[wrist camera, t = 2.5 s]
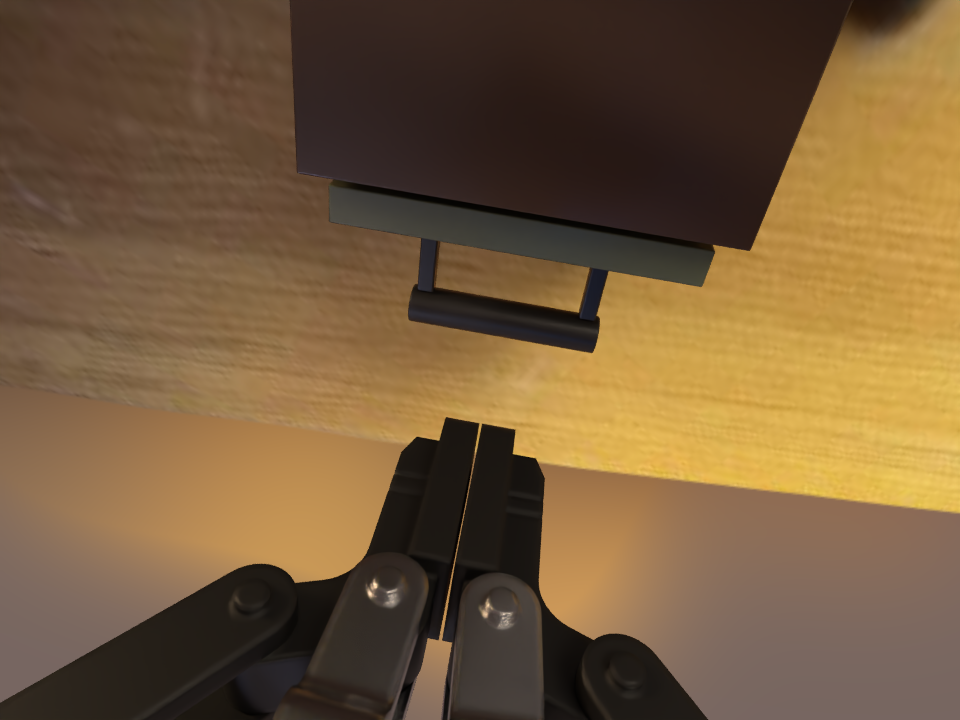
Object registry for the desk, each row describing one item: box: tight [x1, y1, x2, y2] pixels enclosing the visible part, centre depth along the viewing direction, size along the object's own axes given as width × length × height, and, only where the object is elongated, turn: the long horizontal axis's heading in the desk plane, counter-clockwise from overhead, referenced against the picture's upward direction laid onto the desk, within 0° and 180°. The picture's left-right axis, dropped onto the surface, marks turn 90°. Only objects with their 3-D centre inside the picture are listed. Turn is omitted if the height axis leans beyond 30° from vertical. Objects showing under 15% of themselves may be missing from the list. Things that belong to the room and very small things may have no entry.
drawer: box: [329, 180, 715, 353], centre depth 20 cm, size 18×11×8 cm, turn 172°
